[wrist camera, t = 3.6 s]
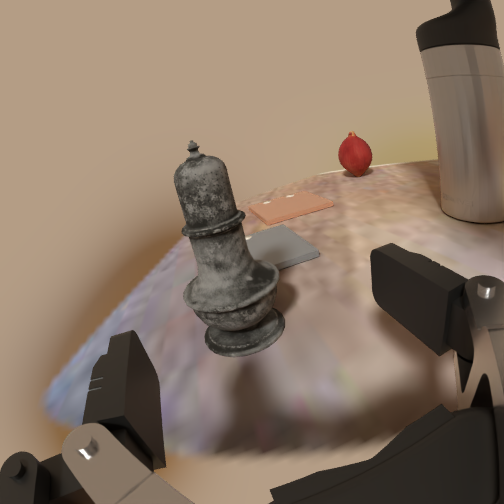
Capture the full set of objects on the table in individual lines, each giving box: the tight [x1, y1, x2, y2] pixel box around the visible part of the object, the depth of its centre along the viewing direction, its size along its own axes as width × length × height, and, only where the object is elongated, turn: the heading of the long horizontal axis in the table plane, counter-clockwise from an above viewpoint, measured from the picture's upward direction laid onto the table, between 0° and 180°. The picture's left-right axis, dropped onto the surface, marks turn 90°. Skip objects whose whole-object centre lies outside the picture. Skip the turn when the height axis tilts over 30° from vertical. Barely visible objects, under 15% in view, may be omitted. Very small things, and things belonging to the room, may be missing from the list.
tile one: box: [245, 225, 319, 270], centre depth 31 cm, size 9×9×1 cm
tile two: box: [248, 191, 333, 225], centre depth 43 cm, size 9×9×1 cm
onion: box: [338, 131, 372, 177], centre depth 51 cm, size 6×6×8 cm
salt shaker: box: [174, 141, 285, 357], centre depth 18 cm, size 6×6×12 cm
